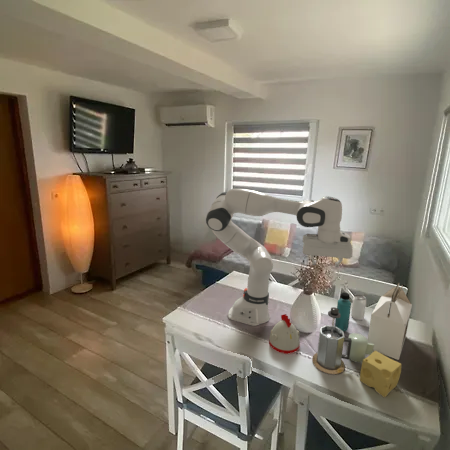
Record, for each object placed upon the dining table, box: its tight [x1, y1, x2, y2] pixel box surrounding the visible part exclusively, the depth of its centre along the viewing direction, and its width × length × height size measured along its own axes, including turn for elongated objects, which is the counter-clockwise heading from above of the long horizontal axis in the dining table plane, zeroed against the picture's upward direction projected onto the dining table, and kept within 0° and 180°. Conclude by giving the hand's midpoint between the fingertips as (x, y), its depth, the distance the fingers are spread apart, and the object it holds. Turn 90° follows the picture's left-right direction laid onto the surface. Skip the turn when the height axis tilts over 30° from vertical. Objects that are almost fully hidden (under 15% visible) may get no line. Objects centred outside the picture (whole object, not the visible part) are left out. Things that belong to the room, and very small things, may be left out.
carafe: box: [311, 324, 352, 376], centre depth 121 cm, size 14×13×15 cm
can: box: [350, 294, 367, 321], centre depth 157 cm, size 6×6×12 cm
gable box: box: [367, 282, 413, 361], centre depth 135 cm, size 22×13×28 cm, turn 142°
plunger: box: [323, 307, 341, 339], centre depth 119 cm, size 7×7×13 cm
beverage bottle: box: [334, 292, 352, 332], centre depth 144 cm, size 6×7×20 cm
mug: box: [345, 332, 374, 363], centre depth 127 cm, size 10×8×9 cm
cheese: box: [359, 350, 402, 398], centre depth 112 cm, size 10×11×10 cm
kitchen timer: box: [268, 313, 301, 355], centre depth 134 cm, size 14×14×15 cm
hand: (325, 265), depth 126 cm, fingers open, 8 cm apart
